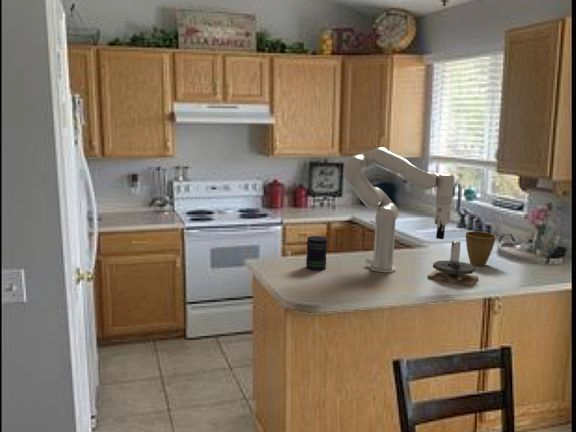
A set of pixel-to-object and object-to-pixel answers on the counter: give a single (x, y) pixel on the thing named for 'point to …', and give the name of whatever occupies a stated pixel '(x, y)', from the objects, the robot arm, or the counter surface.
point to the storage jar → (316, 253)
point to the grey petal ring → (461, 269)
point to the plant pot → (479, 247)
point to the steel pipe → (454, 256)
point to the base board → (453, 278)
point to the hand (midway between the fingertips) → (439, 238)
